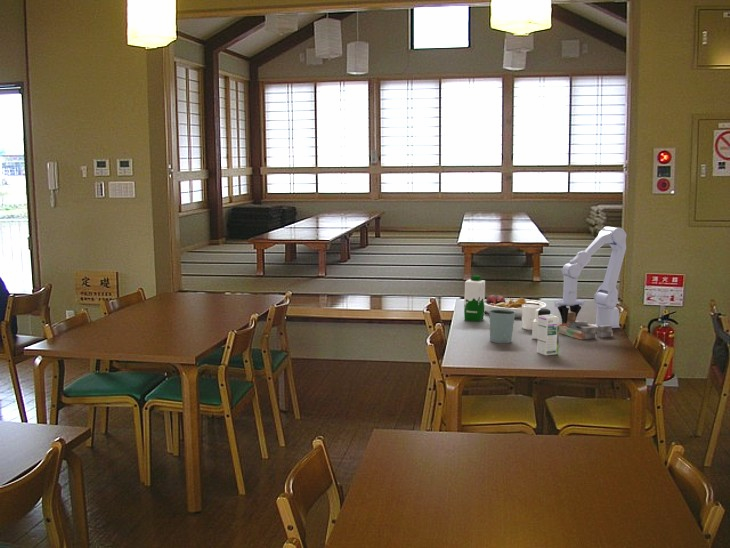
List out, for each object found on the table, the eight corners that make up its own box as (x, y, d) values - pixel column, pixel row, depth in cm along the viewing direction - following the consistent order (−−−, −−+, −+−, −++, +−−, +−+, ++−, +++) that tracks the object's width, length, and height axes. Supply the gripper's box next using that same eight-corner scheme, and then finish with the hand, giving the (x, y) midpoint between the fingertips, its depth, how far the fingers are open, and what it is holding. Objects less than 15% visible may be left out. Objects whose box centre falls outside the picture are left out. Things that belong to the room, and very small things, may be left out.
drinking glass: (483, 339, 328) (484, 310, 326) (504, 337, 332) (506, 308, 330) (497, 344, 318) (498, 314, 317) (519, 342, 322) (520, 312, 321)
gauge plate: (585, 330, 348) (585, 320, 347) (595, 333, 342) (595, 323, 341) (557, 332, 342) (557, 323, 341) (567, 335, 336) (567, 326, 335)
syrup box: (545, 355, 300) (547, 317, 298) (536, 352, 306) (538, 314, 304) (558, 354, 302) (560, 316, 301) (548, 351, 308) (550, 313, 306)
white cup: (539, 330, 346) (540, 307, 345) (520, 329, 348) (521, 306, 347) (539, 327, 354) (540, 304, 353) (520, 326, 356) (521, 303, 354)
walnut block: (569, 324, 353) (569, 311, 352) (575, 326, 349) (575, 312, 349) (561, 325, 351) (562, 311, 351) (567, 326, 348) (568, 313, 347)
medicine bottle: (551, 336, 334) (552, 308, 332) (549, 340, 327) (550, 311, 326) (534, 335, 336) (535, 307, 335) (531, 338, 330) (533, 309, 328)
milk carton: (485, 319, 371) (487, 275, 368) (480, 322, 363) (482, 278, 360) (467, 317, 374) (468, 274, 372) (461, 320, 366) (463, 277, 363)
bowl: (554, 312, 392) (555, 296, 391) (532, 321, 367) (533, 304, 366) (497, 305, 408) (497, 290, 407) (472, 314, 383) (472, 298, 382)
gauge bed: (569, 323, 362) (570, 313, 361) (613, 336, 336) (613, 325, 336) (538, 326, 355) (539, 316, 355) (580, 339, 329) (581, 328, 329)
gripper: (577, 289, 355) (576, 319, 357) (550, 290, 349) (549, 321, 351) (588, 291, 349) (586, 322, 350) (560, 293, 343) (559, 324, 345)
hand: (568, 322), depth 350 cm, fingers closed on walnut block, 4 cm apart
